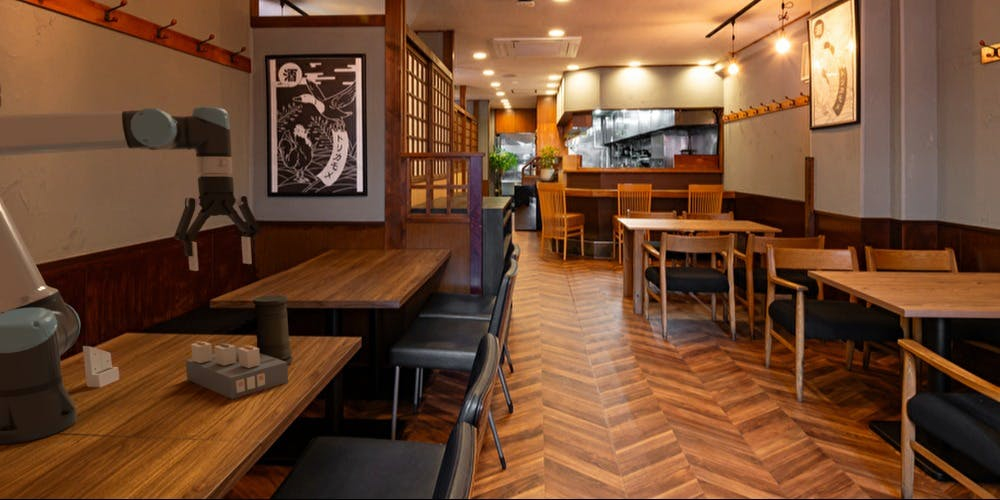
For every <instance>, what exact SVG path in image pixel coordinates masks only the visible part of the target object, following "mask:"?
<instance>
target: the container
mask: <svg viewBox="0 0 1000 500" xmlns="http://www.w3.org/2000/svg"><path fill="white" fill-rule="evenodd" d="M287 301H288V297H287V295H285V294H284V295H283V294H270V295H269V294H268V295H262V296H258V297H255V298H253V300H252V302H253V304H254V308H255V314H254V317H255V329H256V332H255V333H256V348H259V353H261V354H264V355H267V356H270V357H273V358H276V359H279V360H282V361H285V362H287V366H289V365H290V364H292V363H293V359H294V358H293V356H292V350H291V345H290V344H291V342H290V337H289V323H288V310H287V306H288V305H287V304H288V302H287Z"/></svg>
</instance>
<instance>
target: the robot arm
mask: <svg viewBox="0 0 1000 500" xmlns="http://www.w3.org/2000/svg"><path fill="white" fill-rule="evenodd" d="M231 137H232V136H231V125H230V118H229V112H228V111H227V110H226V109H224V108H222V107H221V108H220V107H213V106H212V107H211V106H210V107H208V106H205V107H199V106H198V107H195V108H193V110H192V114H191V115H188V116H186V115H185V116H182V115H181V116H178V115H170V114H169V113H168V112H166V111H164V110H163V109H159V108H157V107H156V108H154V107H152V108H151V107H150V108H149V107H147V108H143V109H140V110H116V111H115V110H112V111H88V112H87V111H85V112H84V111H81V112H55V113H54V112H53V113H28V114H27V113H26V114H23V113H22V114H0V157H6V156H8V157H9V156H21V155H22V156H25V155H40V154H57V153H76V152H78V153H79V152H93V151H111V150H113V151H114V150H127V149H139V150H150V151H157V150H158V151H159V150H160V151H161V150H165V151H166V150H176V151H177V150H179V151H180V150H188V151H191V150H195V156H196V159H195V160H196V161H195V162H196V172H197V175H200V176H199V177H198V178H197V188H198V189H197V190H198V198H195V197H186V198H184V209H183V212H182V214H181V217H180V219H179V222H178V225H177V228H176V231H175V233H174V235H173V239H174V240H177V241H181V242H182V243H183V253H184V256H186V257H188V267H189V271H194V272H197V271H199V259H198V258H199V257H198V245H197V242H196V241H194V240H195V238H196V237H197V235H198V233H199V232H200V231H201V229H202V227H203V226H204V225H205V223H206V221H207V220H208V219H210V217H212V216H213V217H215V216H216V217H217V216H227V217H228V218H229V219H230V220H231V221H232V223H234V225H235V226H236V227H237V228H238V229H239V230H240V231H241V233H242V234H243V235H244V236H241V250H242V251H241V252H242V253H241V254H242V264H247V265H251V264H252V262H253V261H252V250H254V249H255V246H254V237H256V235H257V234H260V233H261V229H260V225H258V223H257V220H256V218H255V216H254V215H253V211H252V210H251V208H250V206H249V203H248V202H249V201H248V196H246V195H237V196H235V194H234V191H235V187H234V178H233V176H231V175H232V174H233V157H232V139H231ZM235 204H236V205H237V206H238V208H239V210H240V213H241V214H242V216H243V218H242V217H241V216H240V215H239V213H238V211H237V210H236V209H235V207H234V205H235ZM198 205H199V206H200V207H201V209H200V210H199V211H198V213H197V216H196V218H195V219H194V221H193V222H191V221H192V219H193V216H194V214H195V211H196V208H197V207H198ZM243 219H244V220H245V221H244V220H243ZM191 223H192V224H191ZM80 330H81V320H80V317H79V314H78V312H76V310H75V309H74V308H73V307H72V306H71V305H69V304H67V303H66V302H65V301H64V299H63V297H62V296H61V292H60V291H59V290H58V289H57V288H54V287H51V286H48V285H47V284H46V281H45V280H44V278H43V276H42V274H41V273H40V270H39V269H38V267H37V264H36V263H35V260H34V259H33V257H32V255H31V252H30V251H29V249H28V247H27V245H26V243H25V241H24V240H23V237H22V235H21V234H20V232H19V229H18V228H17V226H16V224H15V222H14V220H13V218H12V216H11V214H10V212H9V210H8V209H7V205H5V202H4V200H3V199H2V197H1V195H0V445H10V444H19V443H20V444H21V443H25V442H30V441H34V440H39V439H43V438H45V437H48V436H52V435H55V434H57V433H60V432H62V431H64V430H66V429H68V428H70V427H71V426H73V425H74V424H75V423H76V422H77V421H78V414H77V408H76V405H75V403H74V402H73V400H72V398H71V397H70V395H69V393H68V391H67V389H66V387H65V386H64V382H63V375H62V374H63V372H62V363H61V362H62V361H61V356H62V355H63V354H64V353H66V351H68V350H69V349H71V347H73V345H74V344H75V343H76V340H77V339H78V336H79V334H80Z"/></svg>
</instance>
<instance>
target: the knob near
mask: <svg viewBox="0 0 1000 500" xmlns="http://www.w3.org/2000/svg"><path fill="white" fill-rule="evenodd" d="M241 347H242V346H241ZM238 352H239V365H241V366H244V367H247V368H250V367H254V366H258V365H260V354H259V348H257V346H254V345H247V344H244V345H243V347H242V348H238Z"/></svg>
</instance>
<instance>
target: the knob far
mask: <svg viewBox="0 0 1000 500" xmlns="http://www.w3.org/2000/svg"><path fill="white" fill-rule="evenodd" d="M190 347H191V359H192V360H193V361H196V362H198V363H203V362H207V361H211V360H213V359H212V353H213V348H212V347H213V346H212V344H211V343H210V342H206V341H200V340H197V341H196V342H195V343H191V345H190Z"/></svg>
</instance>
